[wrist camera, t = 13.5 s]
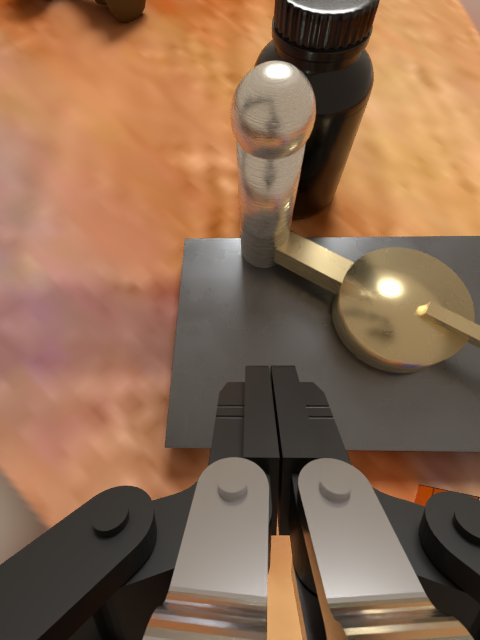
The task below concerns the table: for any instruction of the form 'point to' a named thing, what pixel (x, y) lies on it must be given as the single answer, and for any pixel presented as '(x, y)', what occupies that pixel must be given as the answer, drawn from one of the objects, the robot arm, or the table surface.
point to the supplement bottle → (326, 83)
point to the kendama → (124, 8)
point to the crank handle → (324, 265)
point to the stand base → (315, 349)
